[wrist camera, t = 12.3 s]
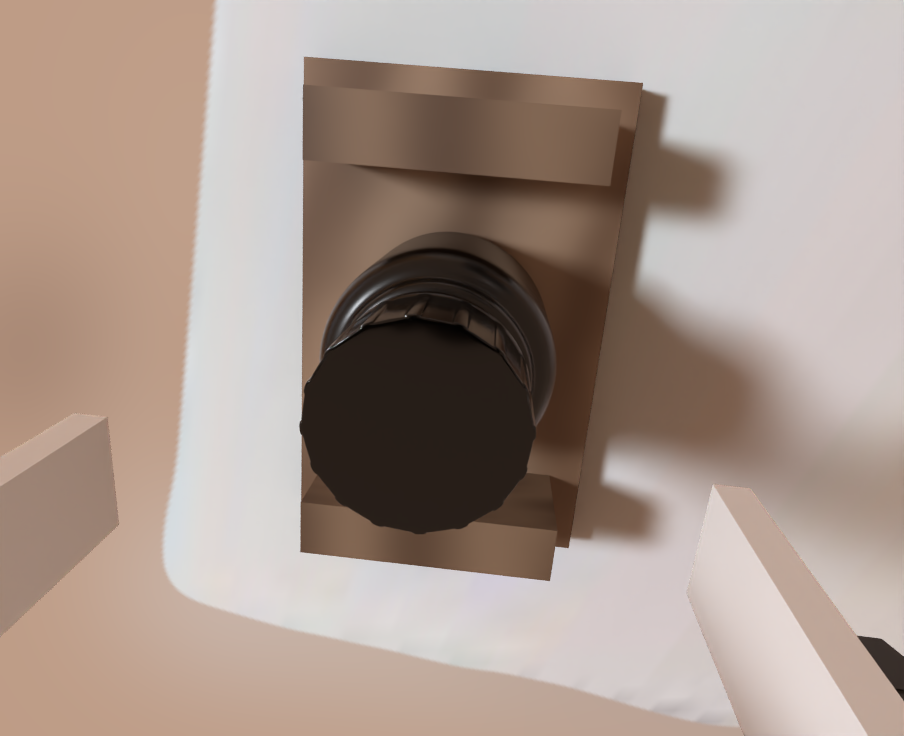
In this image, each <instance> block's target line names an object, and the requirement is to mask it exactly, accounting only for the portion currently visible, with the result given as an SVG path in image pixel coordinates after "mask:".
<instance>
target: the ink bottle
mask: <svg viewBox="0 0 904 736" xmlns="http://www.w3.org/2000/svg"><path fill="white" fill-rule="evenodd" d="M556 368H557V359H556V349H555V343H554V338H553V334H552V331H551V327H550V324H549V320H548V317H547V313H546V310H545V307H544V303H543V300H542V298H541V295H540V293H539V291H538V289H537V287H536V285H535V283H534V281H533V280H532V278H531V277H530V275H529V274H528V273H527V271H526V270H525V269H524V268H523V267H522V266H521V264H520V263H519V262H518V261H517V260H516V259H514V258H513V257H512V256H511V255H510V254H508V253H507V252H506V251H504V250H503V249H501V248H500V247H498V246H497V245H495V244H493V243H491V242H489V241H487V240H485V239H482V238H479V237H477V236H473V235H470V234H465V233H460V232H433V233H428V234H424V235H420V236H417V237H415V238H412V239H410V240H408V241H405V242H404V243H402V244H400V245H398V246H397V247H395V248H394V249H392V250H391V251H389V252H388V253H387V254H385V255H384V256H383V257H382V258H380V259H379V260H378V261H377V262H375V263H374V264H373V265H371V266H370V267H369V268H368V269H366V270H365V271H364V272H363V273H361V274H360V275H359V276H358V277H357V278H356V279H355V280H354V281H353V282H352V283H351V284H350V285H349V286H348V287H347V288H346V290H345V291H344V292H343V294H342V295H341V296H340V298H339V299H338V301H337V302H336V304H335V306H334V307H333V309H332V311H331V313H330V316H329V318H328V320H327V323H326V325H325V329H324V332H323V336H322V340H321V346H320V355H319V365H318V366H317V368H316V369H315V371H314V373H313V375H312V376H311V377H310V378H309V379H308V380H307V382H306V384H305V387H304V394H305V395H304V401H303V409H302V420H301V421H300V425H299V426H300V433H301V435H302V436H303V439H304V442H305V446H306V449H307V452H308V455H309V458H310V466H311V468H312V470H313V472H314V473H315V474H316V475H318V476H319V477H320V479H321V480H322V481H323V483H324V484H325V485H326V486H327V488H328V489H329V490H330V491H331V493H332V494H333V495H334V496H335V499H336V501H337V502H338V503H340V504H341V505H342V506H346V507H348V508H349V509H351V510H353V511H354V512H356V513H357V514H359V515H361V516H363V517H364V518H366V519H368V520H369V521H370V522H371V523H372V524H374V525H376V526H379V527H389V528H393V529H398V530H403V531H408V532H412V533H413V534H420V535H421V534H426V533H428V532H436V531H443V530H450V529H462V528H465V527H467V526H468V525H469V523H471V522H473V521H475V520H477V519H479V518H481V517H482V516H484V515H486V514H488V513H489V512H491V511H495V510H497V509H499V508H500V507H501V506H502V505H503V503H504V500H505V499H506V498H507V497H508V495H509V494H510V493H511V492H512V490H513V489H514V488H515V487H516V485H517V484H518V482H519V481H520V480H522V479H523V478H524V477H525V475H526V473H527V470H528V466H527V464H528V461H529V457H530V453H531V449H532V445H533V441H534V440H535V438H536V426H537V425H538V423H539V422H540V420H541V418H542V417H543V415H544V413H545V411H546V409H547V406H548V404H549V402H550V399H551V396H552V392H553V389H554V384H555V378H556Z"/></svg>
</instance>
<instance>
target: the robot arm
mask: <svg viewBox="0 0 904 736" xmlns="http://www.w3.org/2000/svg"><path fill="white" fill-rule="evenodd" d="M118 525H119V520H118V510H117V501H116V492H115V482H114V473H113V464H112V455H111V445H110V436H109V426H108V417H104V416H94V415H86V414H77V413H74V414H72V415H70V416H69V417H67V418H65V419H63V420H62V421H60V422H58V423H57V424H55V425H53V426H52V427H50V428H48V429H47V430H45V431H43V432H41V433H40V434H38V435H36V436H35V437H33V438H31V439H30V440H28V441H26V442H25V443H23V444H21V445H20V446H18V447H16V448H15V449H13V450H11V451H10V452H8V453H6V454H4V455H3V456H1V457H0V637H1V636H2V635H3V634H4V633H5V632H6V631H7V630H8V629H9V628H10V627H11V626H12V625H13V624H14V623H16V622H17V621H18V620H19V619H20V618H21V617H22V616H23V615H24V614H25V613H26V612H27V611H28V610H29V609H30V608H31V607H33V606H34V605H35V604H36V603H37V602H38V601H39V600H40V599H41V598H42V597H43V596H44V595H45V594H46V593H47V592H48V591H49V590H50V589H51V588H53V586H55V585H56V584H57V583H58V582H59V581H60V580H61V579H62V578H63V577H64V576H65V575H66V574H67V573H68V572H70V570H72V569H73V568H74V567H75V566H76V565H77V564H78V563H79V562H80V561H81V560H82V559H83V558H84V557H85V556H86V555H87V554H89V553H90V552H91V551H92V550H93V549H94V548H95V547H96V546H97V545H98V544H99V543H100V542H101V541H102V540H103V539H104V538H105V537H107V535H109V534H110V533H111V532H112V531H113V530H114V529H115V528H116V527H117V526H118ZM687 596H688V598H689V601H690V603H691V606H692V608H693V611H694V613H695V616H696V618H697V621H698V623H699V626H700V628H701V631H702V633H703V636H704V638H705V640H706V643H707V645H708V648H709V650H710V653H711V655H712V658H713V660H714V663H715V665H716V668H717V670H718V673H719V675H720V678H721V680H722V683H723V685H724V688H725V690H726V693H727V695H728V698H729V700H730V703H731V705H732V708H733V710H734V712H735V715H736V717H737V720H738V722H739V725H740V727H741V730H742V732H743V735H744V736H904V656H902V655H901V654H900V653H899V652H897V651H896V650H895V649H894V648H892V647H891V646H890V645H889V644H887V643H886V642H885V641H884V640H882V639H879V638H871V637H863V636H856V634H855V633H854V631H853V630H852V629H851V627H850V626H849V624H848V623H847V622H846V620H845V619H844V618H843V616H842V615H841V613H840V612H839V611H838V609H837V608H836V606H835V605H834V604H833V602H832V601H831V599H830V598H829V597H828V595H827V594H826V593H825V591H824V590H823V588H822V587H821V586H820V584H819V583H818V581H817V580H816V579H815V577H814V576H813V575H812V573H811V572H810V570H809V569H808V568H807V566H806V565H805V563H804V562H803V561H802V559H801V558H800V557H799V555H798V554H797V552H796V551H795V550H794V548H793V547H792V545H791V544H790V543H789V541H788V540H787V538H786V537H785V536H784V534H783V533H782V532H781V530H780V529H779V527H778V526H777V525H776V523H775V522H774V520H773V519H772V518H771V516H770V515H769V514H768V512H767V511H766V509H765V508H764V507H763V505H762V504H761V502H760V501H759V500H758V498H757V497H756V495H755V494H754V493H753V491H752V490H751V489H750V488H743V487H734V486H725V485H716V484H713V486H712V490H711V494H710V498H709V502H708V506H707V510H706V515H705V519H704V523H703V527H702V531H701V535H700V539H699V544H698V548H697V552H696V556H695V560H694V564H693V568H692V573H691V577H690V581H689V585H688V589H687Z"/></svg>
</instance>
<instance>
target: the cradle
mask: <svg viewBox="0 0 904 736" xmlns="http://www.w3.org/2000/svg"><path fill="white" fill-rule="evenodd" d="M642 87H643V83H636V82H623V81H610V80H597V79H584V78H571V77H559V76H546V75H533V74H520V73H507V72H494V71H481V70H468V69H455V68H442V67H429V66H416V65H403V64H391V63H378V62H365V61H352V60H339V59H326V58H313V57H304V85H303V319H302V409H303V401H304V395H305V394H304V387H305V384H306V382H307V380H308V379H309V378H310V377H311V376H312V375H313V373H314V371H315V369H316V368H317V366H318V365H319V355H320V346H321V340H322V336H323V332H324V329H325V325H326V323H327V320H328V318H329V316H330V313H331V311H332V309H333V307H334V306H335V304H336V302H337V301H338V299H339V298H340V296H341V295H342V294H343V292H344V291H345V290H346V288H347V287H348V286H349V285H350V284H351V283H352V282H353V281H354V280H355V279H356V278H357V277H358V276H359V275H360V274H361V273H363V272H364V271H365V270H366V269H368V268H369V267H370V266H371V265H373V264H374V263H375V262H377V261H378V260H379V259H380V258H382V257H383V256H384V255H385V254H387V253H388V252H389V251H391V250H392V249H394V248H395V247H397V246H398V245H400V244H402V243H404V242H405V241H408V240H410V239H412V238H415V237H417V236H420V235H424V234H428V233H433V232H460V233H465V234H470V235H473V236H477V237H479V238H482V239H485V240H487V241H489V242H491V243H493V244H495V245H497V246H498V247H500V248H501V249H503V250H504V251H506V252H507V253H508V254H510V255H511V256H512V257H513V258H514V259H516V260H517V261H518V262H519V263H520V264H521V266H522V267H523V268H524V269H525V270H526V271H527V273H528V274H529V275H530V277H531V278H532V280H533V281H534V283H535V285H536V287H537V289H538V291H539V293H540V295H541V298H542V300H543V303H544V307H545V310H546V313H547V317H548V320H549V324H550V327H551V331H552V334H553V338H554V343H555V349H556V359H557V368H556V378H555V384H554V389H553V392H552V396H551V399H550V402H549V404H548V406H547V409H546V411H545V413H544V415H543V417H542V418H541V420H540V422H539V423H538V425H537V426H536V438H535V440H534V441H533V445H532V449H531V453H530V457H529V461H528V464H527V466H528V470H527V473H526V475H525V477H524V478H523V479H522V480H520V481H519V482H518V484H517V485H516V487H515V488H514V489H513V490H512V492H511V493H510V494H509V495H508V497H507V498H506V499H505V500H504V503H503V505H502V506H501V507H500V508H499V509H497V510H495V511H491V512H489V513H488V514H486V515H484V516H482V517H481V518H479V519H477V520H475V521H473V522H471V523H469V525H468V526H467V527H465V528H462V529H450V530H443V531H436V532H428V533H426V534H421V535H420V534H413V533H412V532H408V531H403V530H398V529H393V528H389V527H379V526H376V525H374V524H372V523H371V522H370V521H369V520H368V519H366V518H364V517H363V516H361V515H359V514H357V513H356V512H354V511H353V510H351V509H349V508H348V507H346V506H342V505H341V504H340V503H338V502H337V501H336V499H335V496H334V495H333V494H332V493H331V491H330V490H329V489H328V488H327V486H326V485H325V484H324V483H323V481H322V480H321V479H320V477H319V476H318V475H316V474H315V473H314V472H313V470H312V468H311V466H310V458H309V455H308V452H307V449H306V446H305V442H304V439H303V436H302V485H301V552H305V553H313V554H322V555H330V556H339V557H348V558H356V559H365V560H373V561H382V562H391V563H399V564H408V565H417V566H425V567H434V568H442V569H451V570H460V571H468V572H477V573H486V574H494V575H503V576H511V577H520V578H529V579H537V580H546V581H550V577H551V570H552V564H553V557H554V551H555V546H556V547H564V548H569V542H570V536H571V530H572V523H573V517H574V511H575V505H576V498H577V492H578V486H579V480H580V473H581V467H582V461H583V455H584V448H585V442H586V436H587V430H588V424H589V417H590V411H591V405H592V399H593V392H594V386H595V380H596V374H597V367H598V361H599V355H600V349H601V343H602V336H603V330H604V324H605V318H606V311H607V305H608V299H609V293H610V286H611V280H612V274H613V268H614V262H615V255H616V249H617V243H618V237H619V230H620V224H621V218H622V212H623V205H624V199H625V193H626V187H627V180H628V174H629V168H630V162H631V156H632V149H633V143H634V137H635V131H636V124H637V118H638V112H639V106H640V99H641V93H642Z"/></svg>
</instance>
